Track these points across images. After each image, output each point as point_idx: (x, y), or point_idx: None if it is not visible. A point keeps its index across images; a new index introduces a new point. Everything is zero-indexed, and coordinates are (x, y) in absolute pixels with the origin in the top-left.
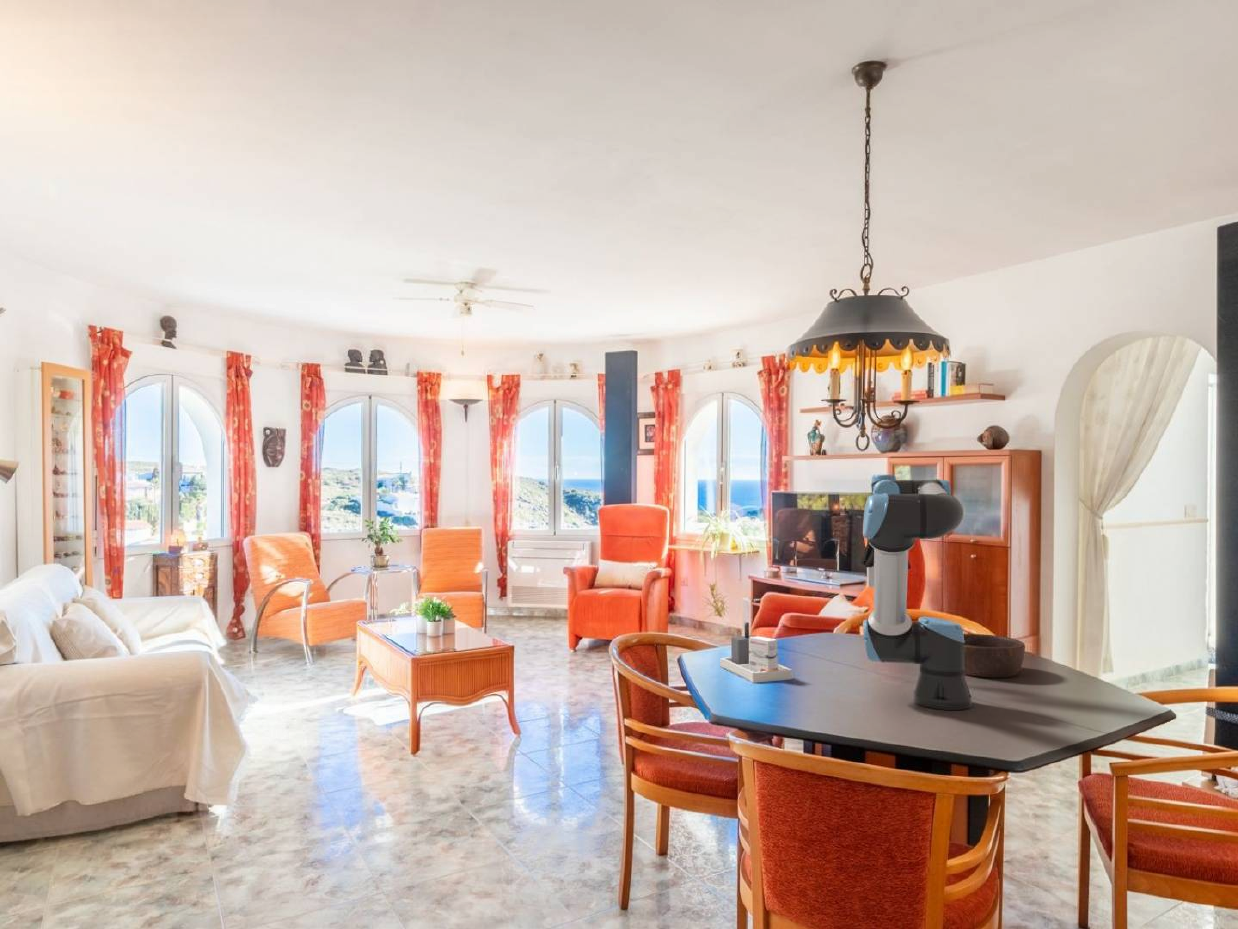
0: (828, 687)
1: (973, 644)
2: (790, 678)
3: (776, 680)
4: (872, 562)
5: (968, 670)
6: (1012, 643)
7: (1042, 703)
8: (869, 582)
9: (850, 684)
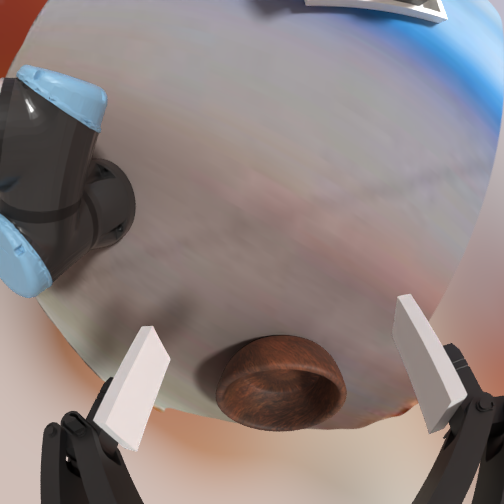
0: (224, 42)
1: (327, 400)
2: (305, 2)
3: None
4: (443, 455)
5: (253, 342)
6: (275, 424)
7: (111, 322)
8: (408, 321)
9: (239, 93)
